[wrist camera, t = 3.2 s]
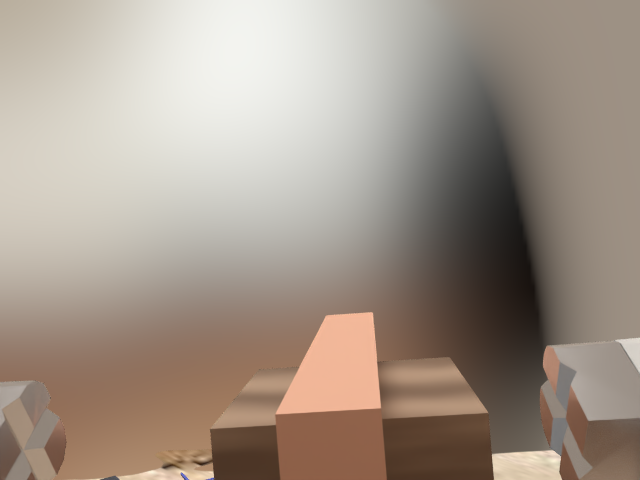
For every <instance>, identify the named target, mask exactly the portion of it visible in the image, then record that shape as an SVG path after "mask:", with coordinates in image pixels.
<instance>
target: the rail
mask: <svg viewBox="0 0 640 480" xmlns="http://www.w3.org/2000/svg"><path fill="white" fill-rule="evenodd" d="M275 419H276V432H277V444H278V457H279V469H280V480H387V475H386V463H385V450H384V438H383V426H382V413H381V401H380V390H379V378H378V367H377V355H376V344H375V332H374V322H373V312H369V313H355V314H342V315H327V316H326V317H325V319H324V321H323V323H322V325H321V327H320V329H319V331H318V333H317V335H316V337H315V339H314V340H313V342H312V344H311V346H310V348H309V350H308V352H307V354H306V356H305V358H304V360H303V362H302V364H301V365H300V367H299V369H298V371H297V373H296V375H295V377H294V379H293V381H292V383H291V385H290V387H289V389H288V391H287V392H286V394H285V396H284V398H283V400H282V402H281V404H280V406H279V408H278V410H277V412H276V414H275Z"/></svg>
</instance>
